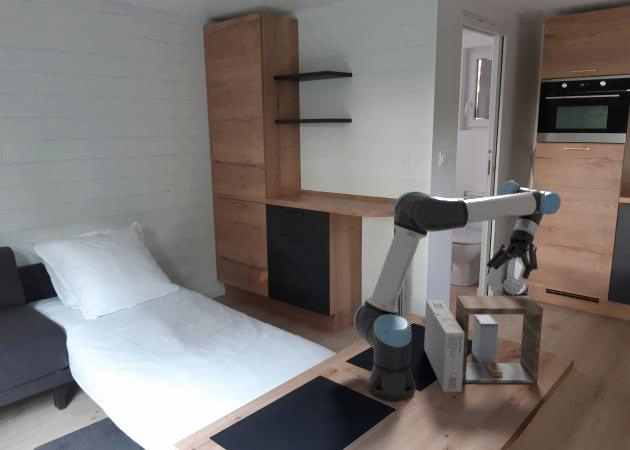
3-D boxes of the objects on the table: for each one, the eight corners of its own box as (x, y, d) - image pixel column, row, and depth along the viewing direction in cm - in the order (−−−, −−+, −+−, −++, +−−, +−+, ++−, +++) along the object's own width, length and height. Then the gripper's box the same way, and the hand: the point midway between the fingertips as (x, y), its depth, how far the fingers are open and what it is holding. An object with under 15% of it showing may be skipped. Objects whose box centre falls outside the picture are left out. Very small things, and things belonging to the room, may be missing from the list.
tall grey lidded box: (478, 363, 175) (480, 324, 172) (471, 352, 184) (473, 314, 181) (495, 363, 175) (498, 324, 172) (487, 352, 184) (490, 314, 181)
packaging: (462, 391, 157) (464, 333, 153) (442, 391, 157) (445, 333, 153) (440, 349, 187) (442, 299, 183) (424, 349, 187) (425, 299, 183)
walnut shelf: (462, 382, 162) (465, 308, 157) (453, 365, 174) (456, 295, 169) (536, 383, 161) (542, 308, 156) (523, 365, 173) (528, 295, 168)
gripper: (560, 238, 167) (540, 293, 160) (502, 241, 189) (482, 289, 183) (547, 226, 164) (526, 281, 158) (490, 230, 186) (469, 279, 180)
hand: (503, 285), depth 170 cm, fingers open, 13 cm apart
